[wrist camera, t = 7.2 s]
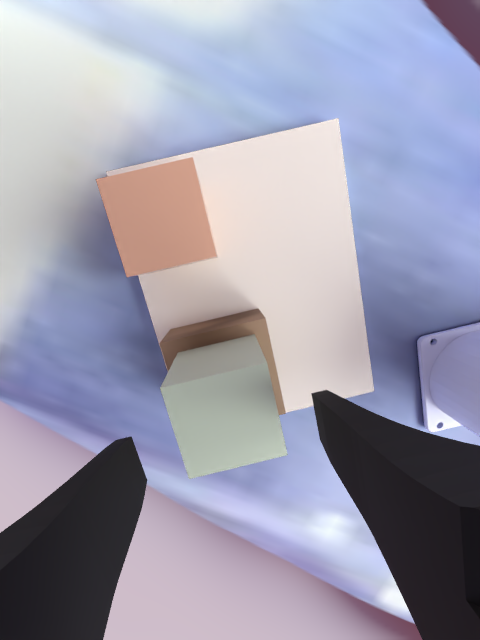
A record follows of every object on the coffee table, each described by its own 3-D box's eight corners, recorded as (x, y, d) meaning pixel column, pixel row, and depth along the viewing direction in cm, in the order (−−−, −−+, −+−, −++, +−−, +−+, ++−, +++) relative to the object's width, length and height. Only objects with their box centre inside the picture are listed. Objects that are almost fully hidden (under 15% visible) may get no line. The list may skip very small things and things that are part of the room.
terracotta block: (200, 184, 16) (192, 156, 12) (218, 257, 17) (216, 256, 13) (129, 200, 16) (95, 179, 12) (150, 273, 17) (126, 277, 13)
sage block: (270, 403, 16) (287, 455, 12) (198, 421, 16) (189, 479, 12) (254, 334, 15) (267, 362, 11) (177, 352, 15) (159, 388, 11)
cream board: (331, 126, 17) (338, 118, 16) (367, 385, 21) (374, 391, 20) (112, 176, 17) (106, 171, 16) (189, 428, 21) (187, 436, 20)
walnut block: (258, 308, 18) (265, 318, 15) (275, 389, 20) (285, 413, 16) (170, 329, 18) (159, 343, 15) (193, 408, 20) (188, 437, 16)
